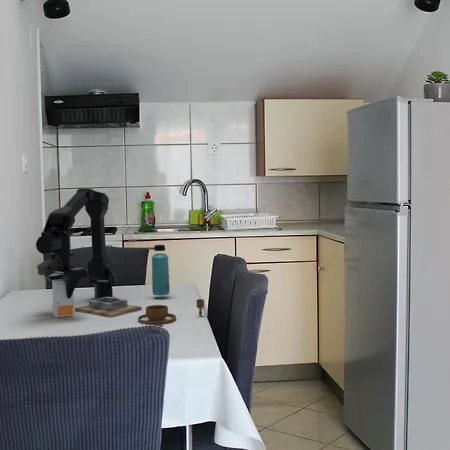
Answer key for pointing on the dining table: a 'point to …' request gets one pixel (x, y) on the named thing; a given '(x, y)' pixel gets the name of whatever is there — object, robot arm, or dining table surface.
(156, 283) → the beverage bottle
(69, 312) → the skincare box
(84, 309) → the duct collar
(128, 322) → the dining table surface
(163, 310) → the place setting
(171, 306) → the dining table surface
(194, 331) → the dining table surface
